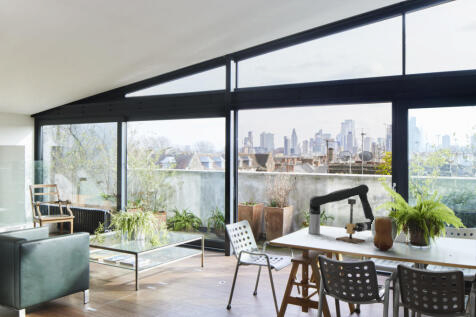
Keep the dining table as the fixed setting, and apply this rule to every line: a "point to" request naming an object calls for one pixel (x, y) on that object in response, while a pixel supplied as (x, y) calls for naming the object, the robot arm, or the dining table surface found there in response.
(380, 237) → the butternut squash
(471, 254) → the dining table surface
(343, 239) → the stand
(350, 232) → the sleeve
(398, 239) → the cable organizer
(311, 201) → the robot arm
